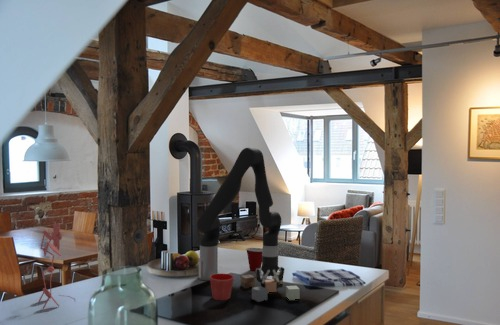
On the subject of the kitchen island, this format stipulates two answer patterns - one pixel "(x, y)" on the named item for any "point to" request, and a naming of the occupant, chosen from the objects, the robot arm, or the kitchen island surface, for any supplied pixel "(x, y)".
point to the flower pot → (221, 286)
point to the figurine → (55, 237)
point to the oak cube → (278, 277)
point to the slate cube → (259, 293)
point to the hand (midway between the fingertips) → (269, 289)
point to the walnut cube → (247, 281)
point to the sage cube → (292, 292)
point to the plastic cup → (254, 258)
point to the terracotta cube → (270, 285)
